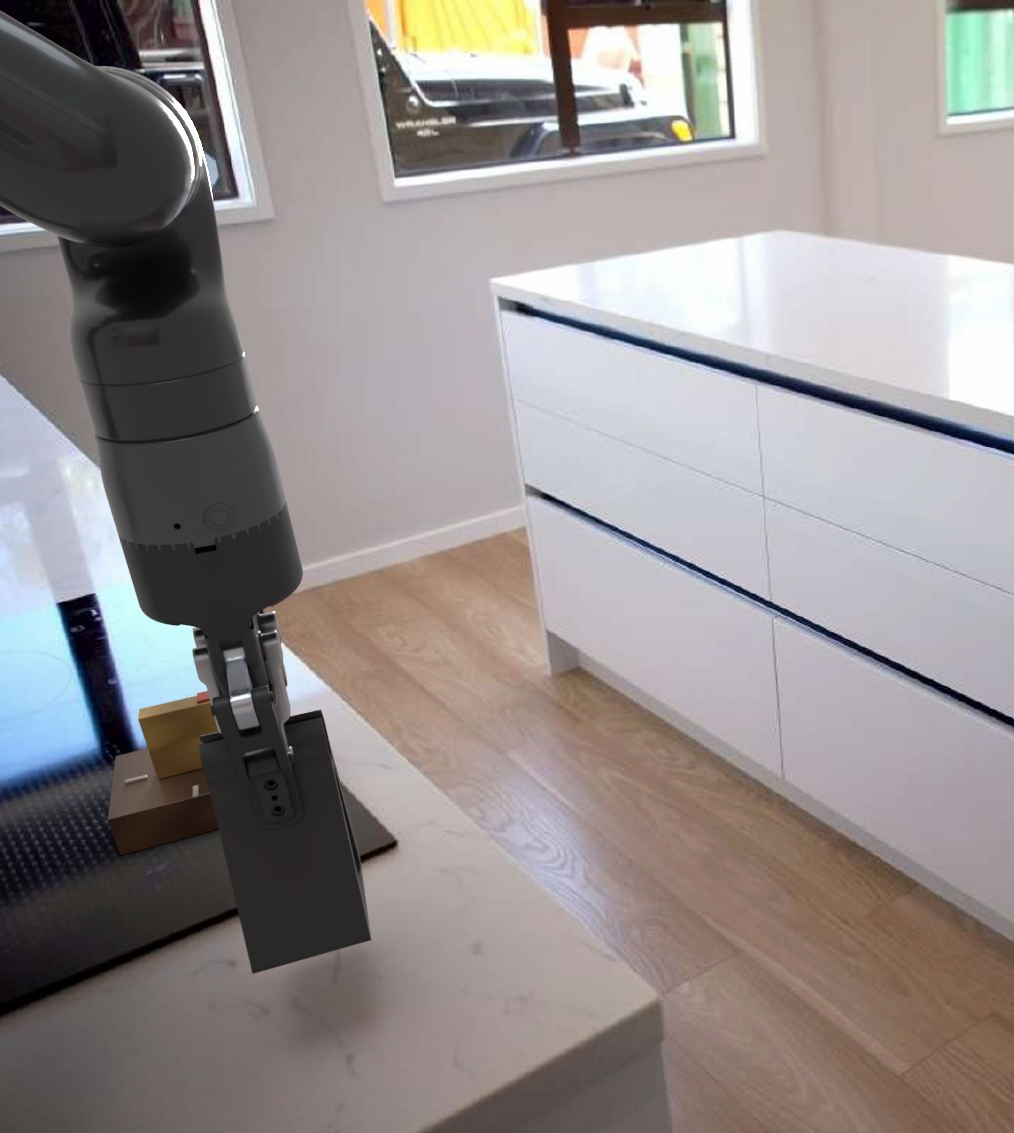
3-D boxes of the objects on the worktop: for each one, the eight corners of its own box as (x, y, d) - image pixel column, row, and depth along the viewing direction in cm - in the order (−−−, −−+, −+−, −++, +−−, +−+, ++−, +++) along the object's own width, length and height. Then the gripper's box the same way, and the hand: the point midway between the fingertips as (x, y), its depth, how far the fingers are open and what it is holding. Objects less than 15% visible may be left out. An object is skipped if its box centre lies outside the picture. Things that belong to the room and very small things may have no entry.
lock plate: (120, 856, 88) (106, 818, 87) (127, 789, 96) (115, 753, 95) (290, 810, 92) (280, 773, 91) (284, 749, 100) (274, 714, 99)
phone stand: (371, 943, 70) (325, 754, 65) (252, 976, 68) (195, 784, 63) (360, 851, 77) (318, 676, 72) (252, 879, 75) (201, 701, 70)
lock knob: (157, 779, 91) (136, 716, 89) (158, 768, 93) (137, 705, 91) (233, 760, 93) (215, 697, 91) (233, 750, 95) (215, 687, 92)
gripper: (123, 479, 67) (206, 760, 74) (105, 578, 55) (205, 901, 62) (278, 453, 70) (343, 727, 77) (292, 542, 58) (368, 856, 65)
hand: (281, 803), depth 70 cm, fingers closed on phone stand, 3 cm apart
